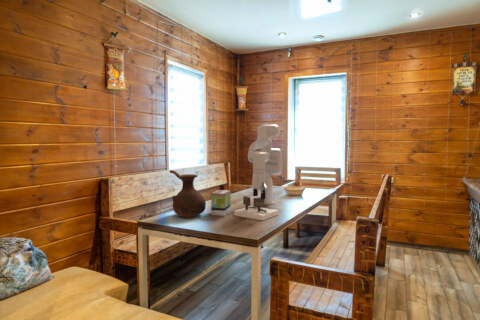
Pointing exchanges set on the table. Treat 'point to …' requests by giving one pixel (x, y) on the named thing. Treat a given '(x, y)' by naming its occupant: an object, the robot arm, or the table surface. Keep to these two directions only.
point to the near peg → (259, 203)
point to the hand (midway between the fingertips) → (259, 197)
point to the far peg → (247, 202)
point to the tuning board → (256, 213)
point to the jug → (188, 198)
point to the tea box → (220, 202)
